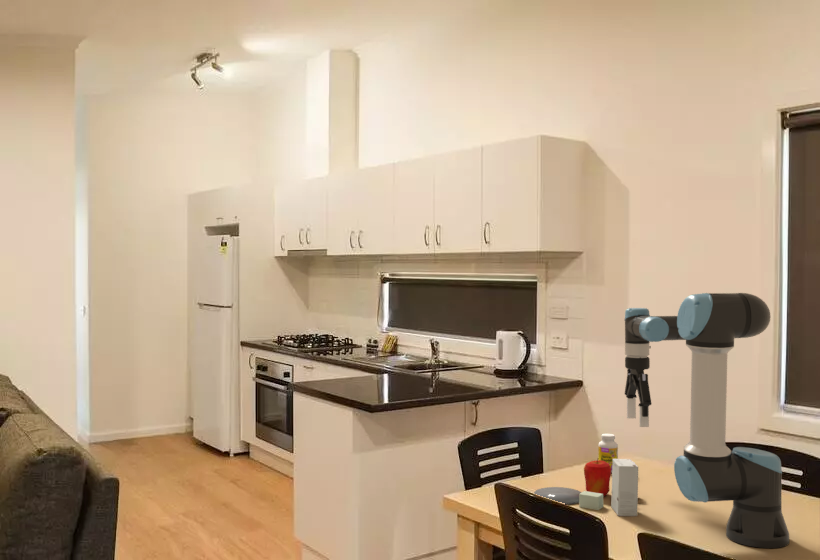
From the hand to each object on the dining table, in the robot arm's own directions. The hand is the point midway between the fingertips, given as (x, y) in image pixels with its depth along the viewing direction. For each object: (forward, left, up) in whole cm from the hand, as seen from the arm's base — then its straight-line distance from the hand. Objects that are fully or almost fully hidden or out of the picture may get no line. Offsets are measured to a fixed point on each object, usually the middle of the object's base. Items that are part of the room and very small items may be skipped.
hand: (637, 422), depth 247 cm
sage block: (-22, +11, -22) cm, 33 cm away
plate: (-16, +22, -22) cm, 35 cm away
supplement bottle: (+22, +12, -22) cm, 34 cm away
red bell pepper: (-9, +11, -22) cm, 26 cm away
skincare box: (-24, +1, -22) cm, 33 cm away
